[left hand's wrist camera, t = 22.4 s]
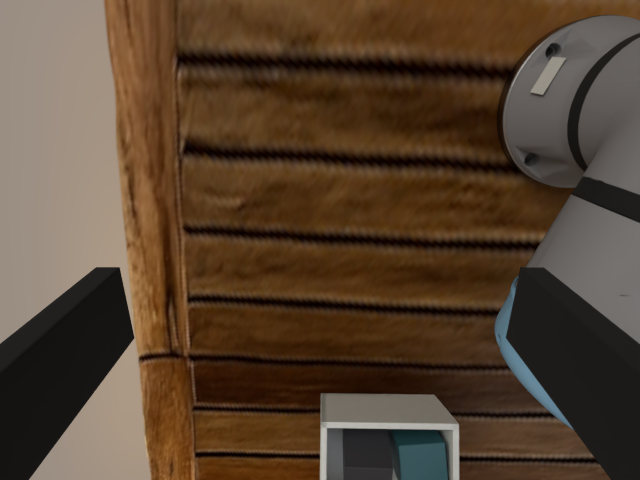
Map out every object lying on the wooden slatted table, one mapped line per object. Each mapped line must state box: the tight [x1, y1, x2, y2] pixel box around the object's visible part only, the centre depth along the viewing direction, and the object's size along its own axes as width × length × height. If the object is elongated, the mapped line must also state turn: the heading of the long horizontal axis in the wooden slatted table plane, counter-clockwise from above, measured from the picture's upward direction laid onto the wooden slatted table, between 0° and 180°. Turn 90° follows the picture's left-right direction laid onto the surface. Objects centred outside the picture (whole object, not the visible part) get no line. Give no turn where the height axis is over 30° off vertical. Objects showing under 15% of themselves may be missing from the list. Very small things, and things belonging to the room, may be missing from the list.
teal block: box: [388, 429, 448, 480], centre depth 40 cm, size 4×4×7 cm
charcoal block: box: [343, 428, 393, 480], centre depth 40 cm, size 4×4×7 cm
